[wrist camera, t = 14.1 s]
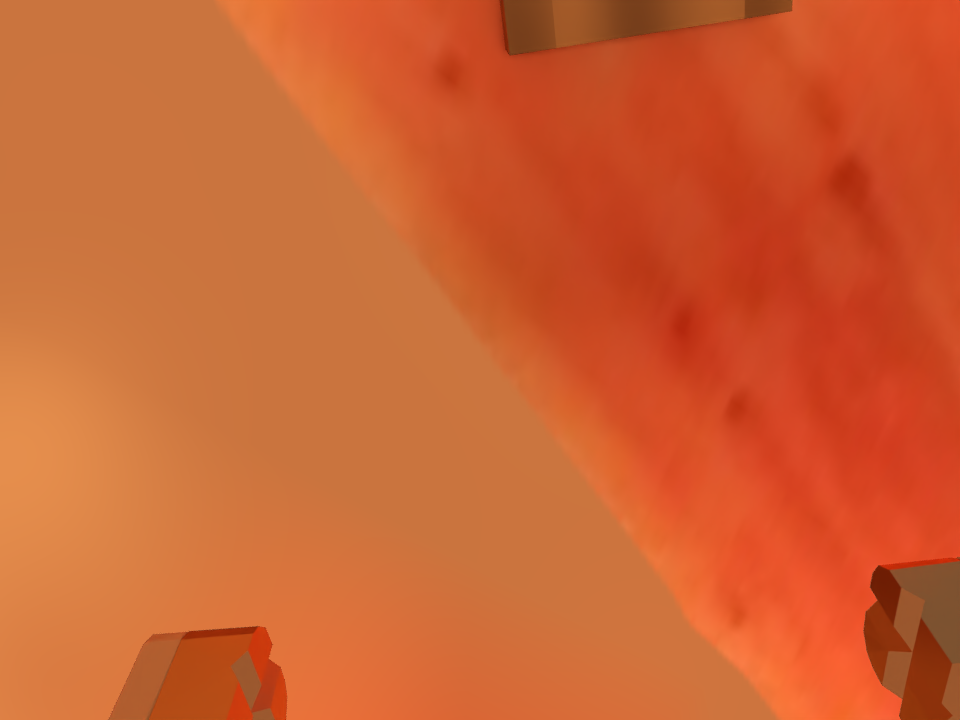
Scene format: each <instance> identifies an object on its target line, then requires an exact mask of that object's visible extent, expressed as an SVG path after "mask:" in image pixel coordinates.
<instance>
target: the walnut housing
mask: <svg viewBox="0 0 960 720" xmlns="http://www.w3.org/2000/svg"><path fill="white" fill-rule="evenodd" d="M500 6H501V14H502V23H503V31H504V40H505V48H506V51H507V52H508V54H509V55H516V54H522V53H529V52H535V51H541V50H548V49H554V48H560V47H567V46H573V45H580V44H586V43H592V42H599V41H605V40H611V39H618V38H624V37H631V36H637V35H643V34H650V33H656V32H662V31H669V30H675V29H681V28H688V27H694V26H701V25H707V24H713V23H720V22H726V21H732V20H739V19H745V18H752V17H758V16H764V15H771V14H777V13H783V12H790V11H792V0H500Z"/></svg>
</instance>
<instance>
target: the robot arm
mask: <svg viewBox="0 0 960 720" xmlns="http://www.w3.org/2000/svg"><path fill="white" fill-rule="evenodd" d="M870 588H871V590H872V591H873V593H874V595H875V596H876V598H877V601H876V602H875V603H874V604H873V605H872V606H871V607H870V608H869V609H868V610H867V611H866V614H865V622H864V630H863V631H864V637H865V643H866V650H867V653H868V656H869V659H870V662H871V664H872V667H873V669H874V671H875V673H876V675H877V677H878V679H879V680H880V682H881V684H882V686H884V687H885V688H887V689H888V690H890V691H891V692H893V693H894V694H896V695H897V696H899V697H900V698H902V704H901V709H900V714H899V717H900V719H901V720H960V557H957V558H943V559H933V560H924V561H915V562H905V563H896V564H887V565H878V567H877V568H876V569H875V571H874V572H873V574H872V579H871V584H870ZM271 648H272V642H271V640H270V637H269V635H268V632H267V630H266V628H265V627H260V626H256V627H241V628H228V629H213V630H199V631H189V632H179V633H166V634H153V635H152V636H151V637H150V638H149V639H148V640H147V641H146V642H145V643H144V644H143V646H142V648H141V650H140V652H139V655H138V657H137V659H136V661H135V663H134V666H133V668H132V670H131V672H130V674H129V676H128V678H127V680H126V683H125V685H124V687H123V689H122V691H121V694H120V696H119V698H118V700H117V702H116V705H115V706H114V709H113V711H112V713H111V715H110V717H109V719H108V720H286V712H287V692H286V685H285V679H284V676H283V673H282V670H281V667H279V666H278V665H277V664H275V663H274V662H272V661H271V660H269V655H270V651H271Z"/></svg>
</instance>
